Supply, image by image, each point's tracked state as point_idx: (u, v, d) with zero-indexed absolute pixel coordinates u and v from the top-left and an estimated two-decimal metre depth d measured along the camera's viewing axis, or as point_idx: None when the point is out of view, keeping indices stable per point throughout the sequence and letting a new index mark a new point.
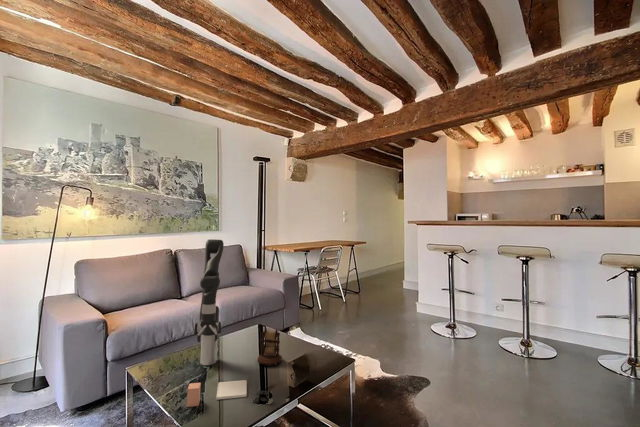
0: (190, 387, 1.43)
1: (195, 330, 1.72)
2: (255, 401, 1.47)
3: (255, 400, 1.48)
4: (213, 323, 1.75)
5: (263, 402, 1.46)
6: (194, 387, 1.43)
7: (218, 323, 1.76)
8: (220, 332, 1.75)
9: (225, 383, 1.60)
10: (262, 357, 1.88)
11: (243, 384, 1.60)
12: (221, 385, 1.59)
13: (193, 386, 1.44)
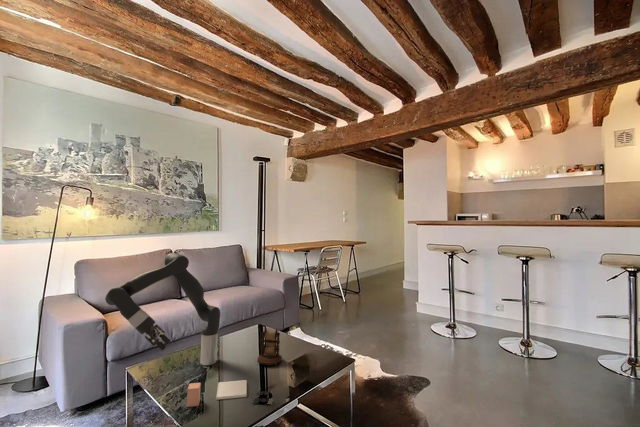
0: (190, 387, 1.43)
1: None
2: (255, 402, 1.46)
3: (255, 401, 1.47)
4: None
5: (263, 403, 1.46)
6: (194, 387, 1.43)
7: None
8: (153, 345, 1.39)
9: (225, 383, 1.60)
10: (262, 357, 1.88)
11: (243, 384, 1.60)
12: (221, 385, 1.59)
13: (193, 386, 1.44)
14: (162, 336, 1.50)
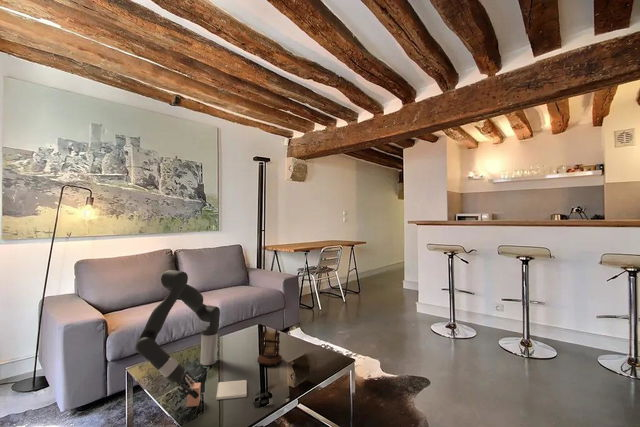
0: None
1: None
2: (256, 406, 1.44)
3: (255, 405, 1.44)
4: None
5: (265, 404, 1.45)
6: (194, 387, 1.43)
7: None
8: None
9: (225, 383, 1.60)
10: (262, 357, 1.88)
11: (243, 384, 1.60)
12: (221, 385, 1.59)
13: (193, 386, 1.44)
14: None
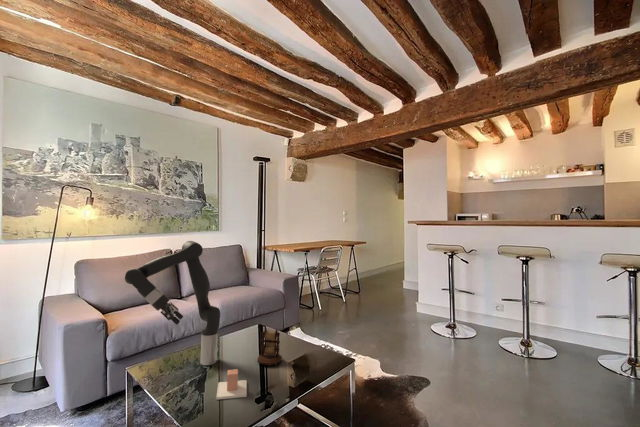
0: (229, 373, 1.55)
1: None
2: None
3: None
4: None
5: None
6: (233, 373, 1.55)
7: None
8: None
9: (225, 383, 1.60)
10: (262, 357, 1.88)
11: (243, 384, 1.60)
12: (221, 385, 1.59)
13: (232, 372, 1.56)
14: (176, 312, 1.65)
